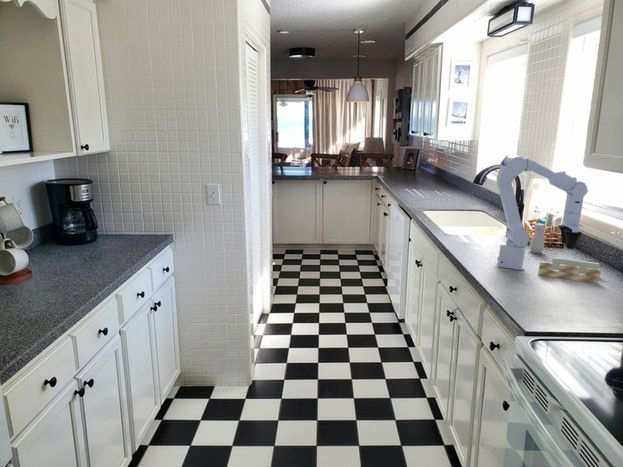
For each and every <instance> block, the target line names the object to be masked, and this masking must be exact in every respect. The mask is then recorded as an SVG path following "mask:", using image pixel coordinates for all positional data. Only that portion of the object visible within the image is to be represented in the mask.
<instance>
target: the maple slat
mask: <svg viewBox="0 0 623 467" xmlns="http://www.w3.org/2000/svg"><path fill="white" fill-rule="evenodd" d="M552 267H553V263H552V262H547V261H539V267H538V271H537V272H538V273H537V275H538V276H543V277H544V276H545V277H550V278H558V279H565V280H571V281H577V282H585V283H591V284H599V281H600V277H601V271H602V270H601V269H600V268H599V269H592V268H587V270H586V274H580V273H579V271H580V267H577V266H570V265H562V264H560V266H559V270H552Z"/></svg>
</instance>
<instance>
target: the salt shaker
mask: <svg viewBox="0 0 623 467" xmlns="http://www.w3.org/2000/svg"><path fill="white" fill-rule="evenodd" d="M534 229H535V231H534V233H533V235H532V238H531V241H530V244H529V246H528V247H529V250H530V253H532V254H538V255H540V254H541V253H542V251H544V248H545V242H544V239H545V238H544V231H545V229H546V224H544V223H540V222H539V223H535V224H534Z"/></svg>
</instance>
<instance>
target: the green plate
mask: <svg viewBox="0 0 623 467" xmlns="http://www.w3.org/2000/svg"><path fill="white" fill-rule="evenodd" d="M551 263H553V267H552V270H559V266H560V264H562V265H570V266H577V267H580V271H579V273H580V274H586V270H587V268H592V269H599V270H600V263H598V262H594V261H593V262H591V261H584V260H578V259H577V260H575V259H568V258H562V257H552V259H551Z"/></svg>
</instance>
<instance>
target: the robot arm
mask: <svg viewBox="0 0 623 467" xmlns="http://www.w3.org/2000/svg"><path fill="white" fill-rule="evenodd" d="M499 165H500V167H499V169H498V173H497V175H496V176H497V177H496V185H497V189H498V193H499V196H500V199H501V200H500V201H501V204H502V208H503V212H504V216H505V219H506V220H505V221H506V224H505V228H506V231H505V237H506V238H507V240H506V241H505V242H504V243H503V242H502V243H500V247H499V253H498V256H497V259H496V260H497V268H498V267H499V268H505V269H506V268H507V269H512V270H513V269H514V270H519V271H520V270H521V271H524V270H525V267H524V259H525V253H526V246H527V245H528V244H529V242H530V234H528V232H526V230H525V226H524V225H523V223H522V220H521V215H520V211H519V208H518V204H517V199H516V196H515V191H514V188H513V182H514V180H515V179H516V178H517V176H519V175H521V174H522V173H523V172H533V173H535V174H538V175H539V176H542V177H543V178H546V179H548V182H549V184H550V185H552V186H553V187H555V188H557V189H559V190H562V191H563V192H565V193H566V196H565V197H566V198H565V204H564V211H563V216H562V222H561V224H559V225H558V229H559V231H560V238H561V240H560V241H561V244H563V245H564V244H565V245H566V249H567V250H574V249H575V246H576V243H577V241H578V240H579V238H580V237H581V236H582V232H581V231H579V229H580V227H583V225H584V224H583V223H582V222H580V221H581V216H582V210H583V203H584V202H583V201H584V197H585V196H586V195H587V193H588V191H589V189H588V186H587V184H586V183H585V182H582V181H580V180H578V178H577V177H575V176H573V177H572V176H571V175H569V174H566V173H567V172H566V171H564V170H561V171H560V170H555V171H553V170H551V169H549V168H548V167H545V166H544V165H542V164H540V163H538V162H537V161H534V160H532V159H529V158H526V157H523V156H520V155H516V154H508V155H506V156H504V158H503V159H502V160H501V162H500V164H499Z"/></svg>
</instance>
